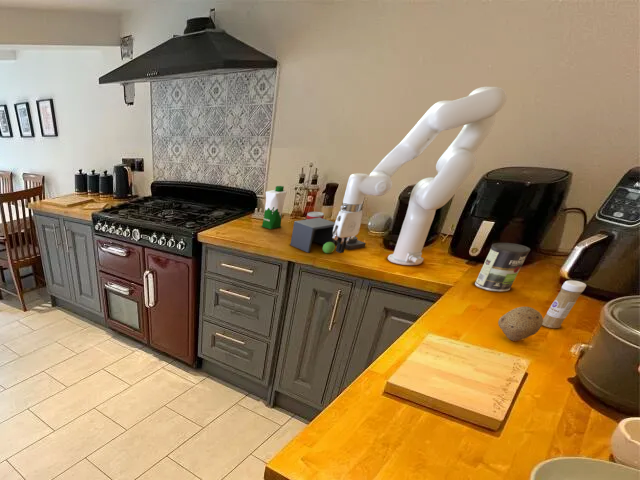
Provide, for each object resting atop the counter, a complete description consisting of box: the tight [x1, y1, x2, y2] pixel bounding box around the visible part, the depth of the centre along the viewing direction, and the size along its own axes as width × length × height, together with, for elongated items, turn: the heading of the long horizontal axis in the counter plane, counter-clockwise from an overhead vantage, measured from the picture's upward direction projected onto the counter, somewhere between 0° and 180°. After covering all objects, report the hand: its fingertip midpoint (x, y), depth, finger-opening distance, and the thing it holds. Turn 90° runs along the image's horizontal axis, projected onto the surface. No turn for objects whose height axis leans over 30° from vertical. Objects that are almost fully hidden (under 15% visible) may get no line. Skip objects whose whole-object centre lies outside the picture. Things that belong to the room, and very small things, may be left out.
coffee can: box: [474, 242, 531, 293], centre depth 144 cm, size 10×10×14 cm
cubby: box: [289, 218, 335, 253], centre depth 191 cm, size 13×14×11 cm
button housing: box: [334, 236, 366, 251], centre depth 192 cm, size 12×9×4 cm
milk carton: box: [261, 185, 288, 230], centre depth 219 cm, size 9×9×20 cm
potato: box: [497, 306, 544, 342], centre depth 115 cm, size 9×9×10 cm
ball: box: [322, 242, 336, 254], centre depth 184 cm, size 5×5×5 cm
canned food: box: [305, 211, 325, 220], centre depth 204 cm, size 8×8×11 cm
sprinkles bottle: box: [542, 279, 587, 329], centre depth 119 cm, size 5×5×13 cm
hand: (339, 252), depth 178 cm, fingers closed
